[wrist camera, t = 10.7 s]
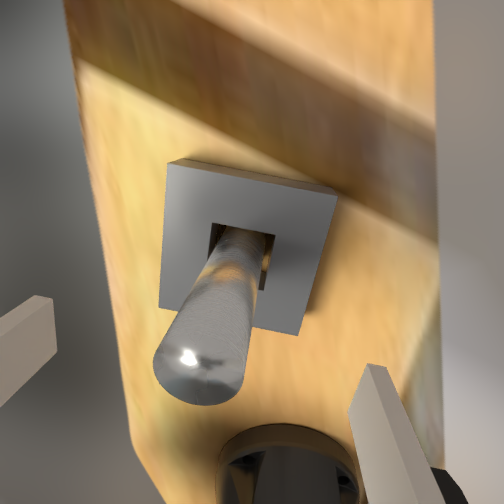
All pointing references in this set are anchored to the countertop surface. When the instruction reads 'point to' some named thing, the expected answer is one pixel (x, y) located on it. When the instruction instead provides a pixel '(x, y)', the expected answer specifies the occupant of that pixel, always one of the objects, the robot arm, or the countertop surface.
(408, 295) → the countertop surface
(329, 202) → the socket block
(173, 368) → the steel peg
